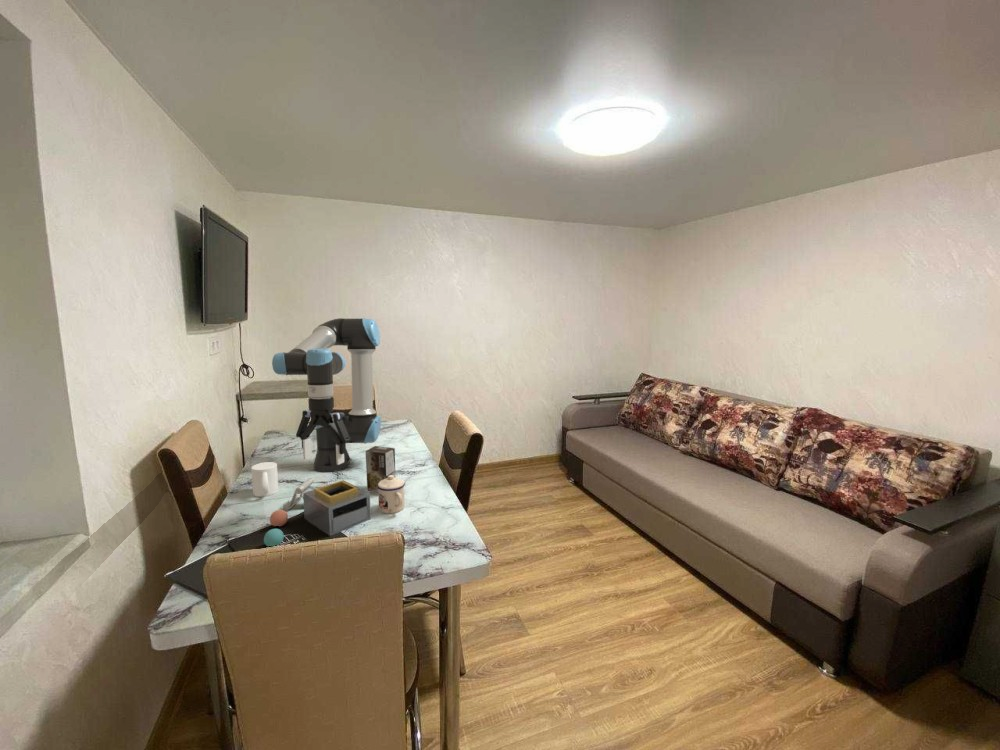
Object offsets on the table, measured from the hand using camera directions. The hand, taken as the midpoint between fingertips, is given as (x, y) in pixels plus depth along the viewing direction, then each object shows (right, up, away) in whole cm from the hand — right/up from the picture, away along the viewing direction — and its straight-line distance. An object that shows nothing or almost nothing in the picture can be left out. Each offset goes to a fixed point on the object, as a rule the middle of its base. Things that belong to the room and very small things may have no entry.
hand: (323, 460), depth 135 cm
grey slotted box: (+5, -19, -1) cm, 19 cm away
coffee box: (+13, -16, +22) cm, 30 cm away
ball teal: (-7, -21, -17) cm, 28 cm away
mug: (-29, -16, +17) cm, 37 cm away
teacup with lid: (+21, -18, +6) cm, 29 cm away
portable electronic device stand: (-12, -18, +9) cm, 23 cm away
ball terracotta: (-12, -19, -6) cm, 23 cm away
